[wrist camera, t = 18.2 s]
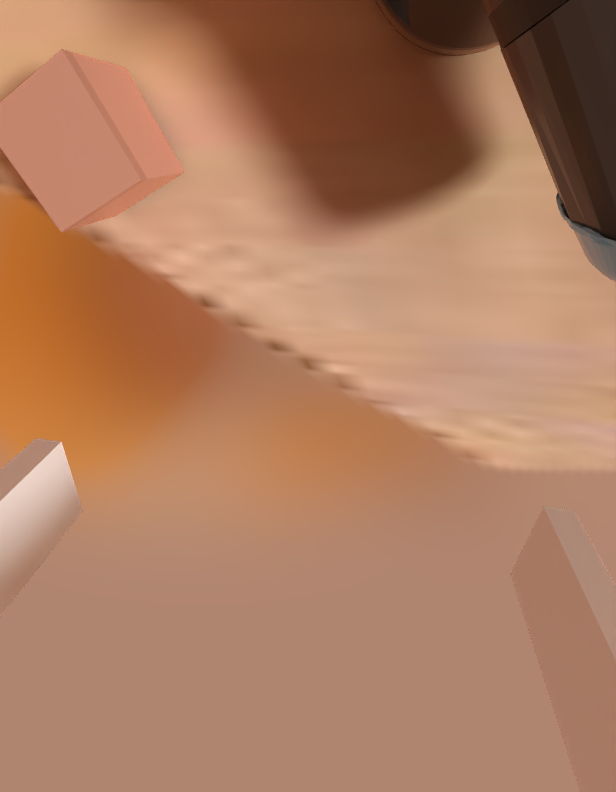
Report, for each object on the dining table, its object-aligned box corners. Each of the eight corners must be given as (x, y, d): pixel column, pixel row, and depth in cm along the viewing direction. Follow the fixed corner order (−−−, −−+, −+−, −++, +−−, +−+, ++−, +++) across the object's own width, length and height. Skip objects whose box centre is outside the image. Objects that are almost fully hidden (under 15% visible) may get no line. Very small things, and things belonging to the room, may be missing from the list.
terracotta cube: (184, 172, 36) (141, 179, 29) (115, 215, 39) (61, 232, 32) (125, 67, 33) (61, 49, 26) (54, 123, 35) (-21, 119, 29)
